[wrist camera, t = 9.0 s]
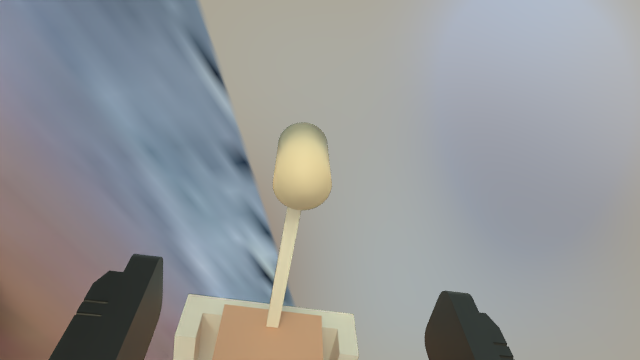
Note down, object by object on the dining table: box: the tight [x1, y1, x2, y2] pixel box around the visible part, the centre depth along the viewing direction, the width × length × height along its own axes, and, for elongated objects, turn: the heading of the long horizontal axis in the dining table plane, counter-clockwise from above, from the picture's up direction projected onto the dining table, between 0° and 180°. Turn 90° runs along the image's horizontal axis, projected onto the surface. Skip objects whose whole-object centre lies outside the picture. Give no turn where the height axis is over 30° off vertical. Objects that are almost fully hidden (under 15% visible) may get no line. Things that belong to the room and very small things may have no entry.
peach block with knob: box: [212, 123, 332, 360], centre depth 24 cm, size 17×6×6 cm, turn 169°
